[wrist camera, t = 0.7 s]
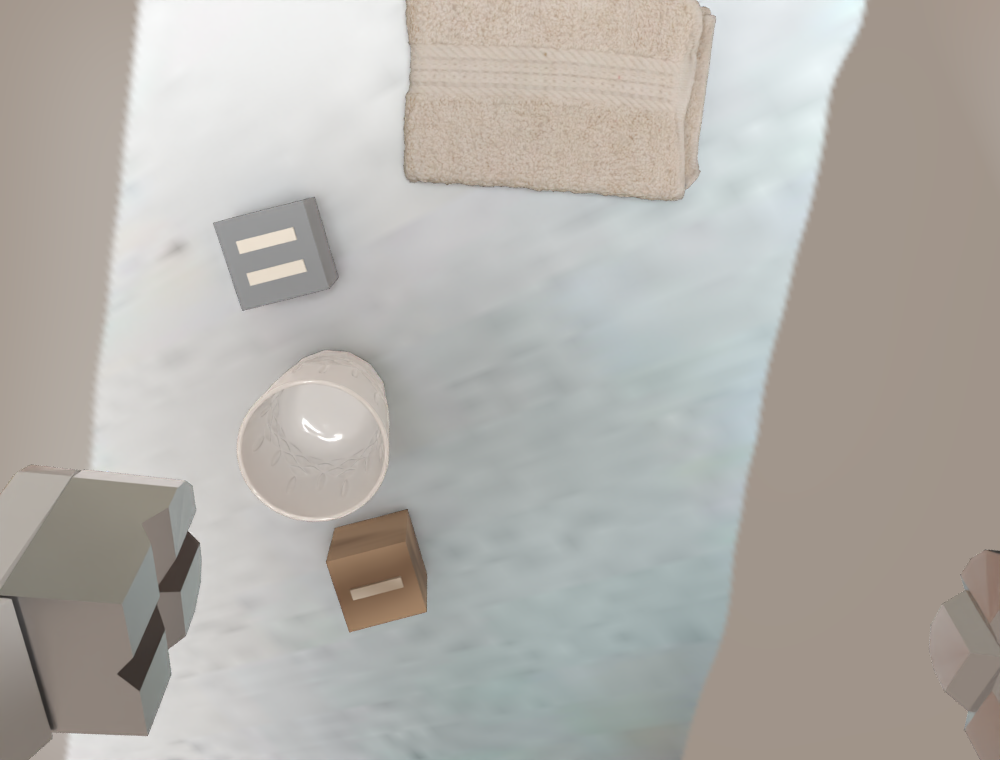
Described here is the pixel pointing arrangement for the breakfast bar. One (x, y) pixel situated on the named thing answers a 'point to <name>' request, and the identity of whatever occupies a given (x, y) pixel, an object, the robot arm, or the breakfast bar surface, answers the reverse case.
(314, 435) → the white cup
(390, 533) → the walnut block
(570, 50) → the washcloth
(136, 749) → the breakfast bar surface
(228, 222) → the slate-grey block
